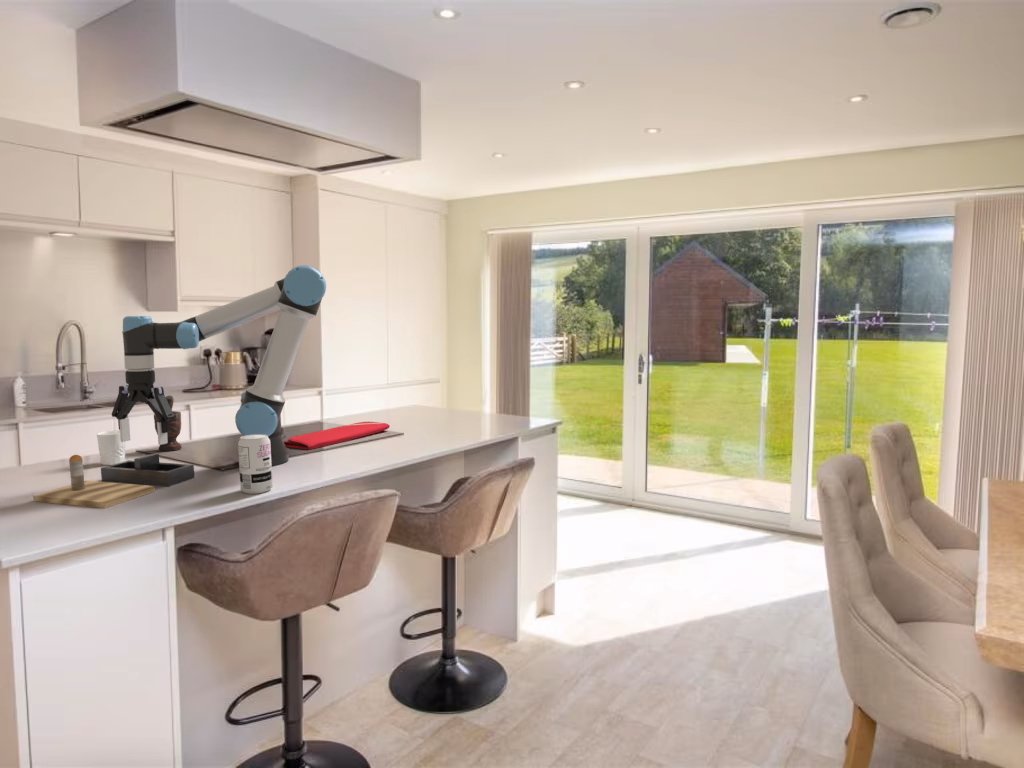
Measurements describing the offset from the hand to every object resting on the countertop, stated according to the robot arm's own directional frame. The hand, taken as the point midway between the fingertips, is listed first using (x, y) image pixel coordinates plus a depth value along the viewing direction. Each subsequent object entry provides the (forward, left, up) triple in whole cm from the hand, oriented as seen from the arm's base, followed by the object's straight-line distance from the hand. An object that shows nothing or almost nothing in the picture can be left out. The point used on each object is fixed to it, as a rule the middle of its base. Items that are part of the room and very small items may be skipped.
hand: (144, 442), depth 202 cm
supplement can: (-39, +2, -11) cm, 41 cm away
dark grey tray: (0, 0, -11) cm, 11 cm away
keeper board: (0, +18, -11) cm, 21 cm away
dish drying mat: (-21, -70, -12) cm, 74 cm away
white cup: (+29, -15, -11) cm, 34 cm away
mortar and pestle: (+25, -36, -11) cm, 45 cm away
